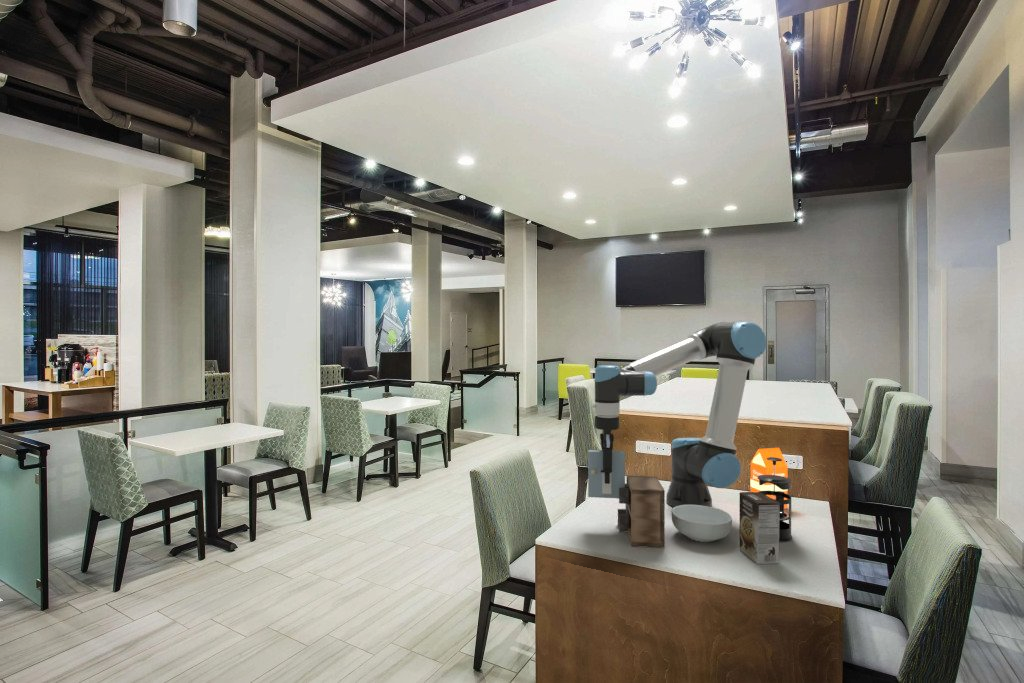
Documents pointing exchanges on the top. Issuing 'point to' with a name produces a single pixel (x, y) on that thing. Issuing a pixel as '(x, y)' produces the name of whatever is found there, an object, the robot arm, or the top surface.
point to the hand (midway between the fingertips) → (606, 491)
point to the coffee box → (759, 527)
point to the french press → (779, 499)
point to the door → (596, 476)
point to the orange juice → (767, 470)
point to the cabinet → (643, 511)
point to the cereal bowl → (701, 522)
